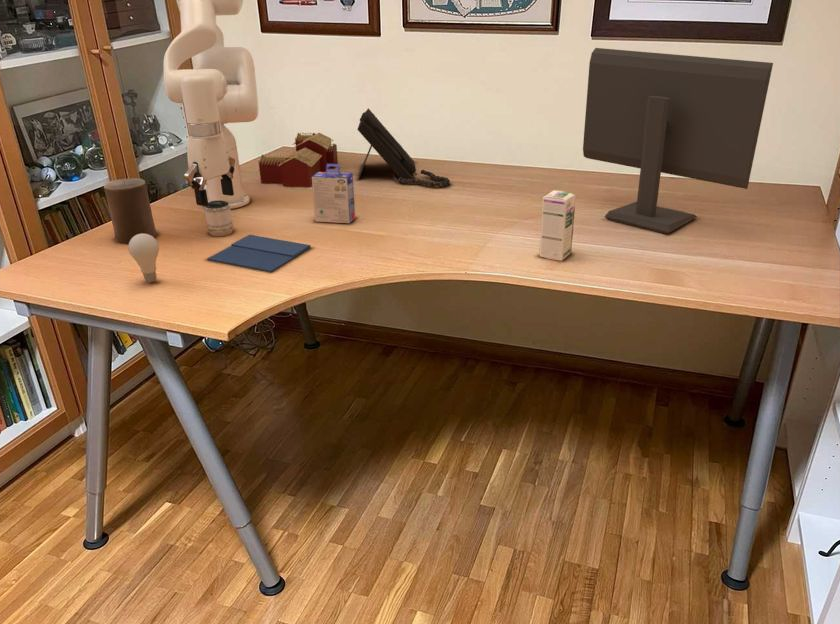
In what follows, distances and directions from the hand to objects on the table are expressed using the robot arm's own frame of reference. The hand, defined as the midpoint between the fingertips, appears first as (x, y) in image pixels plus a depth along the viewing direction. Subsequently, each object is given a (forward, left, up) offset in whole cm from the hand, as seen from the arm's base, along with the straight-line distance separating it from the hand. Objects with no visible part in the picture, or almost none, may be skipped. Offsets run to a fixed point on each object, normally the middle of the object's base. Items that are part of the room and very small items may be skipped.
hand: (215, 200), depth 176 cm
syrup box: (+82, +20, -9) cm, 84 cm away
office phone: (+20, +66, -9) cm, 69 cm away
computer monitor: (+98, +54, -9) cm, 112 cm away
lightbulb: (+6, -30, -9) cm, 32 cm away
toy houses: (-15, +62, -9) cm, 64 cm away
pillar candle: (-18, -10, -9) cm, 23 cm away
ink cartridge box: (+22, +21, -9) cm, 31 cm away
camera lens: (0, +1, -9) cm, 9 cm away
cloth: (+18, -7, -9) cm, 21 cm away
